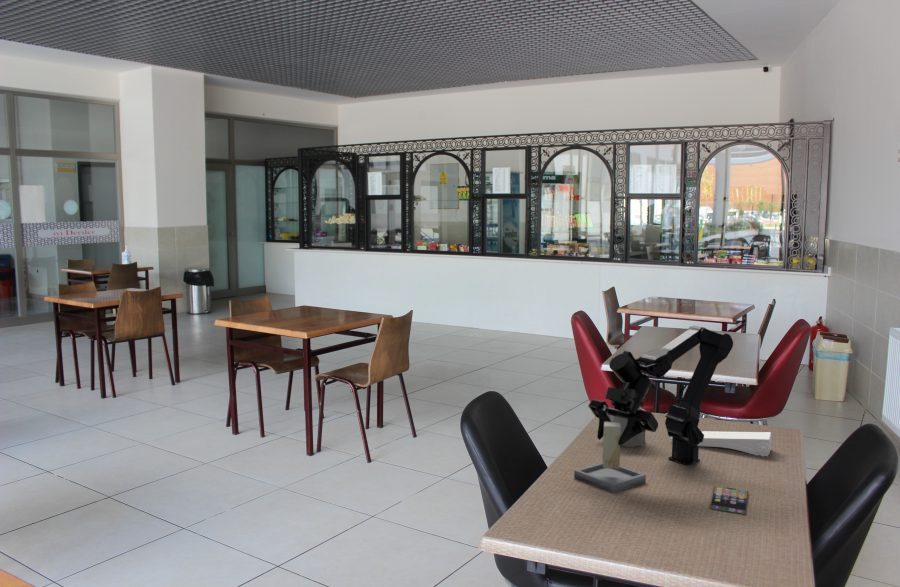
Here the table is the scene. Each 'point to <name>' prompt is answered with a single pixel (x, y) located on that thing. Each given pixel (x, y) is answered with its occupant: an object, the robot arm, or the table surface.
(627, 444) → the coffee mug
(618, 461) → the box
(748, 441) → the wall bracket
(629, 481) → the tray
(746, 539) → the table surface
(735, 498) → the smartphone
